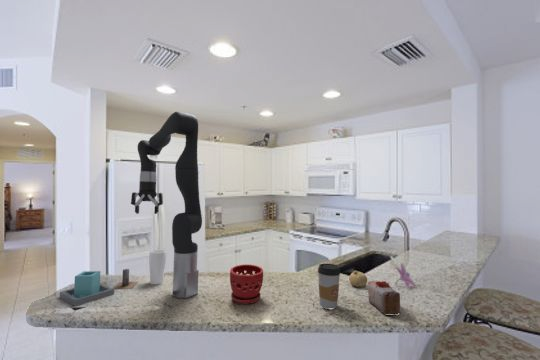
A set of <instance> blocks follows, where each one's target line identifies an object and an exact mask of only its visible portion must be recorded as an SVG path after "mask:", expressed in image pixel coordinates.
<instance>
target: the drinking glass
mask: <svg viewBox="0 0 540 360" xmlns="http://www.w3.org/2000/svg"><path fill="white" fill-rule="evenodd" d="M148 257H149V258H148V261H149V263H148V264H149V283H150V285H159V284H163V282H164V278H165V277H164V276H165V269H166V259H167V251H166V250H165V249H153V250H150V251H149V256H148Z"/></svg>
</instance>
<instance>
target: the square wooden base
mask: <svg viewBox="0 0 540 360" xmlns="http://www.w3.org/2000/svg"><path fill="white" fill-rule="evenodd" d="M121 279H122V280H121V282H120V281H119V282H118V283H116V285H114V286H113V287H112V288H113V289H114V290H132V289H133V288H134V287H136V286H137V284H138V283H139V281H130V269H129V268H125V269H123V270H122V278H121Z"/></svg>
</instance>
